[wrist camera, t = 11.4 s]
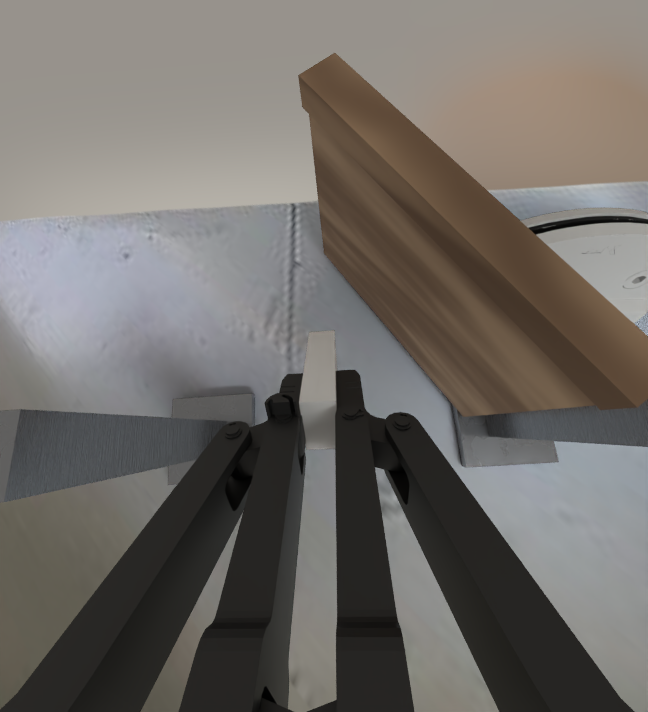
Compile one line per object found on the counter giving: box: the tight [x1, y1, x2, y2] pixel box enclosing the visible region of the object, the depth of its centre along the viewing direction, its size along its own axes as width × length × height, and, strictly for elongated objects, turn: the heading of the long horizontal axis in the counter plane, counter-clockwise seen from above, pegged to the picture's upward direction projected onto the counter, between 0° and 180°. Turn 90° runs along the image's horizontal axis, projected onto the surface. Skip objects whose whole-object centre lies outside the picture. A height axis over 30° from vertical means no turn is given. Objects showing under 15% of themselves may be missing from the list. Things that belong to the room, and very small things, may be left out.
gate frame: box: [0, 394, 648, 502], centre depth 19 cm, size 8×36×20 cm, turn 94°
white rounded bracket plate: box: [521, 208, 648, 323], centre depth 27 cm, size 17×5×10 cm, turn 90°
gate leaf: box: [298, 53, 648, 417], centre depth 21 cm, size 3×22×17 cm, turn 36°
